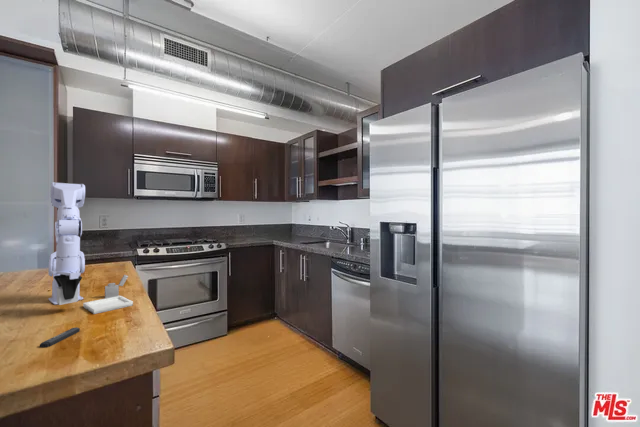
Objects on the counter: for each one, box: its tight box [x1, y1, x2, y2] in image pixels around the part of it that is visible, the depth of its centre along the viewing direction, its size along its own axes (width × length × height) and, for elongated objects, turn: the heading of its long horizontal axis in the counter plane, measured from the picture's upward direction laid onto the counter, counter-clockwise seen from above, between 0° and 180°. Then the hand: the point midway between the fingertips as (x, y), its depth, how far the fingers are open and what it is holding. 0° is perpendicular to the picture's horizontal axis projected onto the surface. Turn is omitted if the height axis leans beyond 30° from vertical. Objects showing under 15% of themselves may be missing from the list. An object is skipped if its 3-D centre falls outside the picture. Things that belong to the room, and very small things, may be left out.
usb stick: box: [39, 327, 81, 348], centre depth 72 cm, size 10×3×2 cm, turn 2°
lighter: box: [104, 274, 129, 299], centre depth 108 cm, size 7×2×8 cm, turn 130°
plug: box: [57, 286, 79, 306], centre depth 91 cm, size 4×4×6 cm
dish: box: [82, 295, 134, 315], centre depth 97 cm, size 11×11×1 cm
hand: (67, 297), depth 91 cm, fingers closed on plug, 3 cm apart
